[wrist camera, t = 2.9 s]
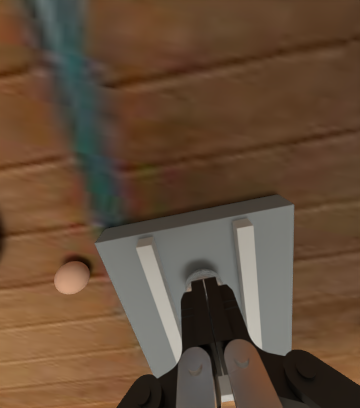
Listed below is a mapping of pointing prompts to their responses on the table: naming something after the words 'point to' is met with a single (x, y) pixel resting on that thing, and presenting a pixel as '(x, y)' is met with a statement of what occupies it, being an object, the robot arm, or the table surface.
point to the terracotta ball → (72, 277)
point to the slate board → (205, 259)
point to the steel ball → (201, 277)
